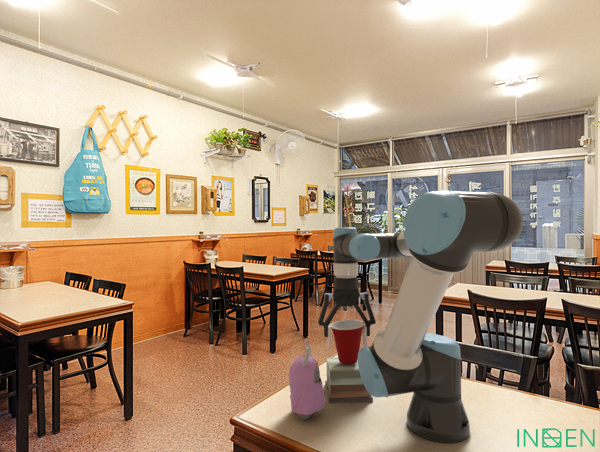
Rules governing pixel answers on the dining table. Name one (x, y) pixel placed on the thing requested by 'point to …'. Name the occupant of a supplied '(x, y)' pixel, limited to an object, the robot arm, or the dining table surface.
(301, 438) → the dining table surface
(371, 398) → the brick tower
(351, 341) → the plastic cup
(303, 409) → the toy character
